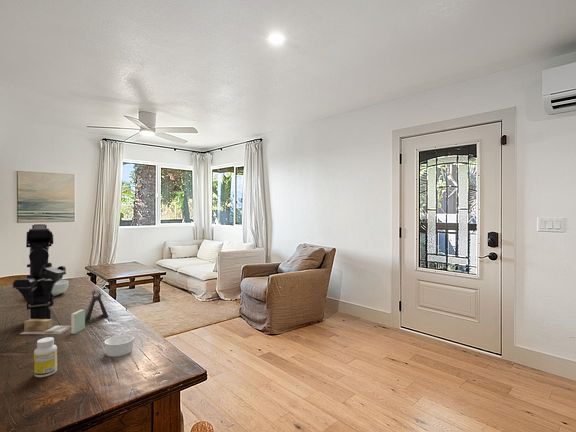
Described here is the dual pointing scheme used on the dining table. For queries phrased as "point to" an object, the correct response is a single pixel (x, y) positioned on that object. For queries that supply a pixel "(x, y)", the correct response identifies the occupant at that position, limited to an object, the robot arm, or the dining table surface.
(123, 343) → the ramekin
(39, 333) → the tool rest
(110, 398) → the dining table surface
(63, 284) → the cereal bowl
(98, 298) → the phone stand
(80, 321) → the tile
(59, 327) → the turner
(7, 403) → the dining table surface
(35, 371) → the supplement bottle
